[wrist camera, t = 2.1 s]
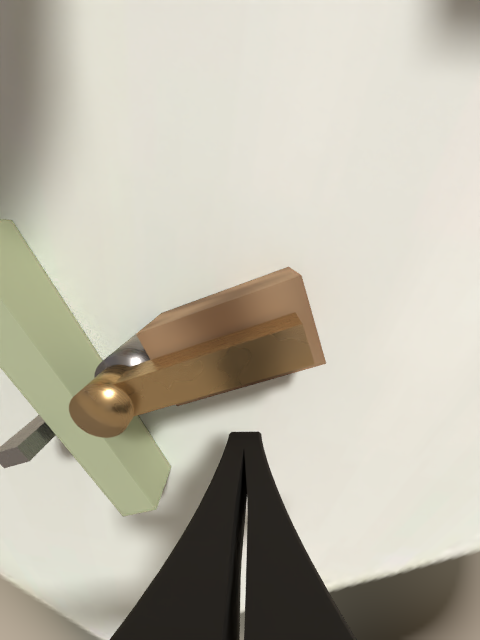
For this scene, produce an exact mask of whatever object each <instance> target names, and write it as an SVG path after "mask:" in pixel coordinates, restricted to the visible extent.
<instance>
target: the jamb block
mask: <svg viewBox="0 0 480 640" xmlns="http://www.w3.org/2000/svg"><path fill="white" fill-rule="evenodd" d="M294 312H295V313H296V314H297V316H298V317H299V319H300V321H301V322H302V324H303V327H304V330H305V333H306V337H307V340H308V343H309V347H310V350H311V353H312V357H313V360H314V363H315V364H314V365H310V366H307V367H303V368H300V369H296V370H293V371H289V372H286V373H282V374H279V375H275V376H272V377H268V378H265V379H262V380H258V381H255V382H251V383H248V384H244V385H241V386H237V387H234V388H230V389H227V390H223V391H220V392H216V393H213V394H210V395H206V396H203V397H199V398H196V399H192V400H189V401H185V402H182V403H178V404H176V406H180V405H183V404H186V403H190V402H193V401H197V400H200V399H204V398H207V397H211V396H214V395H218V394H221V393H225V392H228V391H232V390H235V389H239V388H242V387H246V386H249V385H253V384H256V383H260V382H263V381H267V380H270V379H274V378H277V377H281V376H284V375H288V374H291V373H295V372H298V371H302V370H305V369H309V368H312V367H316V366H319V365H323V364H326V361H325V358H324V354H323V351H322V347H321V343H320V340H319V336H318V333H317V329H316V326H315V322H314V319H313V315H312V311H311V308H310V304H309V301H308V297H307V294H306V290H305V287H304V283H303V279H302V276H301V275H300V274H299V273H297V272H296V271H294V270H293V269H291V268H290V267H287V268H284V269H281V270H279V271H276V272H273V273H270V274H268V275H265V276H262V277H259V278H257V279H254V280H251V281H249V282H246V283H243V284H240V285H238V286H235V287H232V288H229V289H227V290H224V291H221V292H218V293H216V294H213V295H210V296H207V297H205V298H202V299H199V300H196V301H194V302H191V303H188V304H185V305H183V306H180V307H177V308H174V309H172V310H169V311H166V312H164V313H161V314H160V315H159V316H157V317H156V318H155V319H154V320H153V321H151V322H150V323H149V324H148V325H146V326H145V327H144V328H143V329H142V330H140V331H139V332H138V333H137V334H136V335H137V337H138V338H139V340H140V342H141V344H142V346H143V347H144V349H145V351H146V353H147V354H148V356H149V358H150V360H152V359H155V358H158V357H161V356H164V355H167V354H170V353H173V352H176V351H179V350H182V349H185V348H188V347H191V346H194V345H197V344H200V343H203V342H206V341H209V340H212V339H215V338H218V337H221V336H224V335H227V334H230V333H233V332H236V331H239V330H242V329H245V328H248V327H251V326H254V325H258V324H261V323H264V322H267V321H270V320H273V319H276V318H279V317H282V316H285V315H288V314H291V313H294Z"/></svg>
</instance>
